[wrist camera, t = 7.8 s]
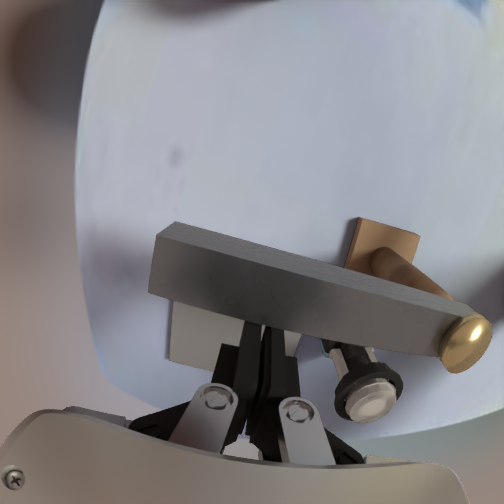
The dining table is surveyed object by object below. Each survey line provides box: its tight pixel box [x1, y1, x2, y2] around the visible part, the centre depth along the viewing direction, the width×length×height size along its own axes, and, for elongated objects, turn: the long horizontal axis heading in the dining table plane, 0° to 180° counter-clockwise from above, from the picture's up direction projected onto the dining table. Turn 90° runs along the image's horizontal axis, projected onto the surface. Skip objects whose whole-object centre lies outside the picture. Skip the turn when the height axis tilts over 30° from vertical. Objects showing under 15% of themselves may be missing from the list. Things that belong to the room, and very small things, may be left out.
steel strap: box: [148, 221, 492, 373], centre depth 11 cm, size 3×17×3 cm, turn 75°
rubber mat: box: [169, 301, 301, 371], centre depth 26 cm, size 12×10×1 cm
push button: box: [320, 338, 403, 423], centre depth 21 cm, size 7×5×10 cm
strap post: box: [344, 217, 454, 300], centre depth 19 cm, size 6×6×10 cm
